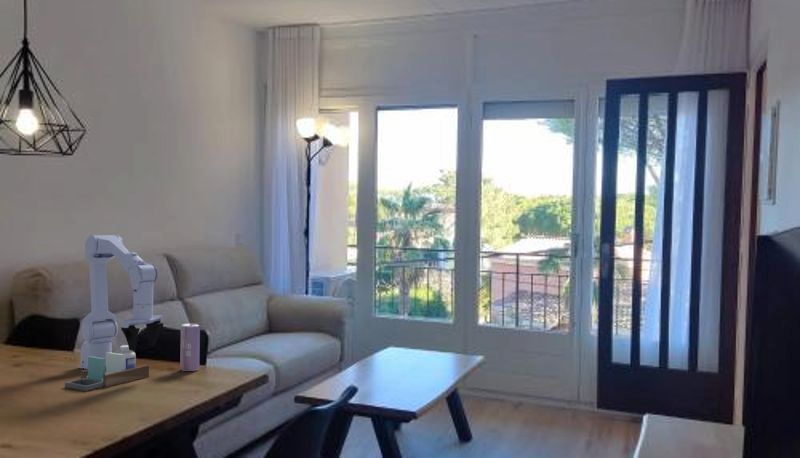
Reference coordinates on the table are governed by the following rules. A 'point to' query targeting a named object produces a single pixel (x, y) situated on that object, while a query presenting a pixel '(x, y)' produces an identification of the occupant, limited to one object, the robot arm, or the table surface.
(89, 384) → the tray
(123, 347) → the pill bottle
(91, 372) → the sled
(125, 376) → the channel
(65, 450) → the table surface
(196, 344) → the beverage can
